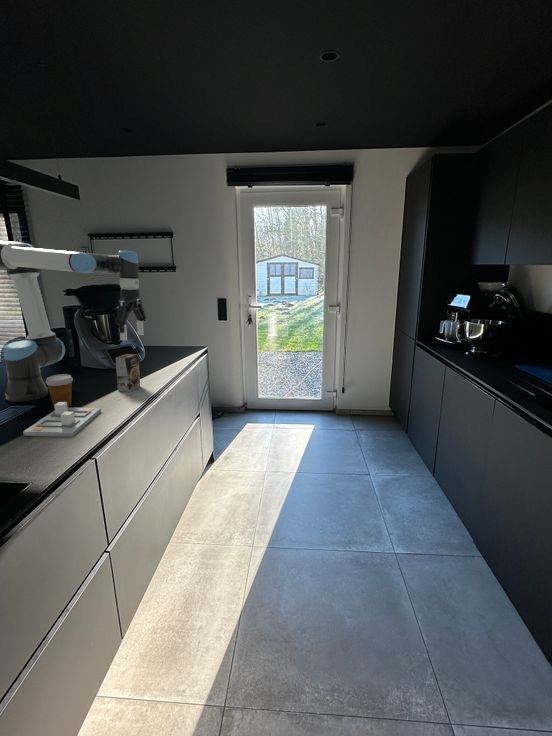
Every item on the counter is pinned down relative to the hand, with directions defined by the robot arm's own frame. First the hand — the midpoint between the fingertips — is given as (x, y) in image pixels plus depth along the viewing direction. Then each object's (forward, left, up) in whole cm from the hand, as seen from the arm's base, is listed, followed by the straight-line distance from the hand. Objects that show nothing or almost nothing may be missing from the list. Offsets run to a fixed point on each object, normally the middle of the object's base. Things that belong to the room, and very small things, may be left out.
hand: (132, 337), depth 157 cm
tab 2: (-10, -39, -24) cm, 47 cm away
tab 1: (-17, -30, -24) cm, 42 cm away
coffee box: (-5, +5, -26) cm, 27 cm away
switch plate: (-14, -35, -26) cm, 45 cm away
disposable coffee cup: (-24, -18, -26) cm, 40 cm away
